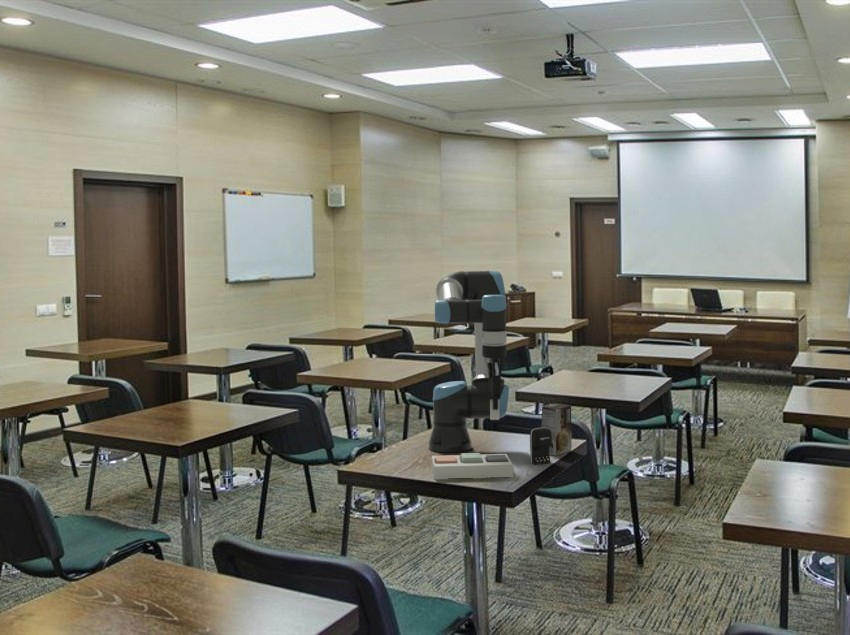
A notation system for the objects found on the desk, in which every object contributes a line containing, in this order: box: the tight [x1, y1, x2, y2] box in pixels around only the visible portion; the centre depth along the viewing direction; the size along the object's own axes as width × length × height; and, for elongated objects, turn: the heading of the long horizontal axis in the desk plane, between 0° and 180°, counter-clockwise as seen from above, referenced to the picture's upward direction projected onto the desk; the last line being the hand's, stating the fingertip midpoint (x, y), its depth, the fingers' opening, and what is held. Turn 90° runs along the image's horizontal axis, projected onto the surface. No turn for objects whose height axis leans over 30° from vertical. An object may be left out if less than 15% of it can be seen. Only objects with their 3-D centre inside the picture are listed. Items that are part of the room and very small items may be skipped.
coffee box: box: [541, 402, 573, 456], centre depth 292 cm, size 9×6×16 cm
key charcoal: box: [485, 454, 508, 462], centre depth 266 cm, size 6×6×3 cm
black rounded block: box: [529, 427, 552, 465], centre depth 277 cm, size 7×4×11 cm, turn 119°
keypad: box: [431, 453, 514, 480], centre depth 266 cm, size 14×24×4 cm, turn 93°
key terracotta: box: [435, 455, 456, 464], centre depth 266 cm, size 6×6×3 cm
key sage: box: [460, 452, 482, 463], centre depth 266 cm, size 6×6×3 cm
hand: (494, 419), depth 266 cm, fingers closed
